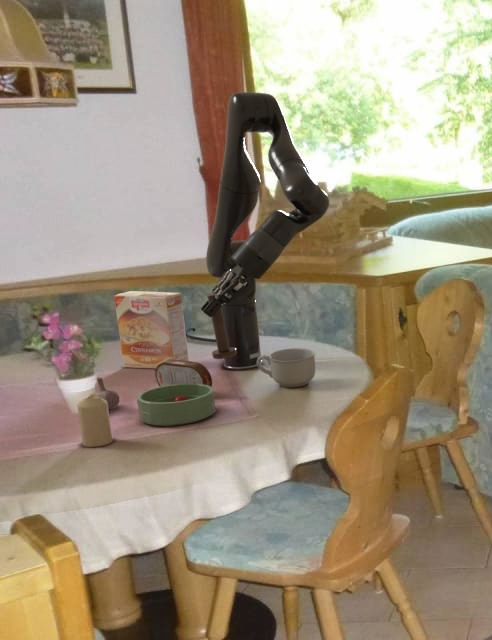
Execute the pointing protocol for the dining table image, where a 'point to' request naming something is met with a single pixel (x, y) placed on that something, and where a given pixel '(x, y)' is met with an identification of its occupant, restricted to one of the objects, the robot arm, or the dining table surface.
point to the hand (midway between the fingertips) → (205, 313)
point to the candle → (94, 421)
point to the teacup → (290, 366)
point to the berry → (179, 399)
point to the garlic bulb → (107, 394)
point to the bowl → (176, 404)
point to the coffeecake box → (151, 328)
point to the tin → (182, 373)
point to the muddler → (220, 334)
